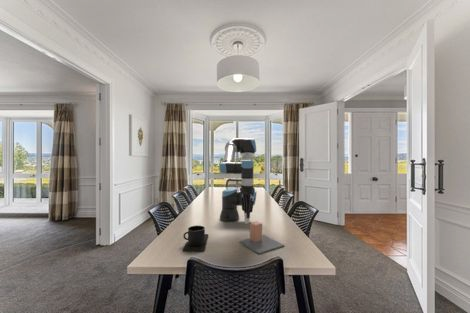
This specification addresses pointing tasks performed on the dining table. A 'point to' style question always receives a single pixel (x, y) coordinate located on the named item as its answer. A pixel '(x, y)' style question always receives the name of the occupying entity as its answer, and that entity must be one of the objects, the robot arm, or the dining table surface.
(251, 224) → the block
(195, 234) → the mug
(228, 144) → the robot arm
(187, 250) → the black flat plate
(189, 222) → the dining table surface
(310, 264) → the dining table surface
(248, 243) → the mat
